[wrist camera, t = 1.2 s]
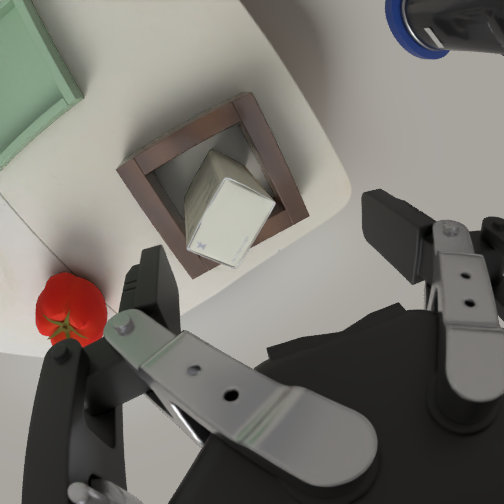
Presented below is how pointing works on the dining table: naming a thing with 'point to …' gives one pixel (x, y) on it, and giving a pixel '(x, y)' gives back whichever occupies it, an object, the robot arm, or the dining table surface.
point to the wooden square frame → (187, 136)
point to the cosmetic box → (224, 210)
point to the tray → (29, 79)
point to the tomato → (71, 310)
